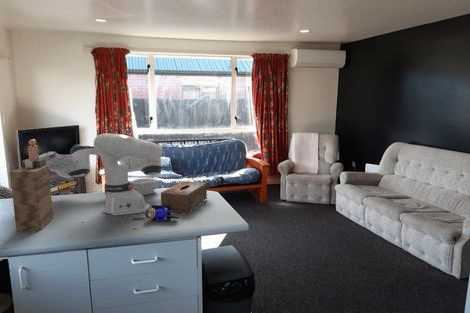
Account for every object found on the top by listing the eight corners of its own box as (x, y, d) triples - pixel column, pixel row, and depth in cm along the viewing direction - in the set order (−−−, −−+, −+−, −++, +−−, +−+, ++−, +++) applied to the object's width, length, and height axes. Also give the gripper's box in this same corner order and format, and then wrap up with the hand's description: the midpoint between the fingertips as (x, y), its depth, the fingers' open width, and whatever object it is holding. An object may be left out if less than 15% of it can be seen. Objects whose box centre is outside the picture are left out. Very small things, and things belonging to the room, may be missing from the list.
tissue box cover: (187, 214, 171) (187, 195, 169) (161, 211, 175) (160, 192, 173) (206, 200, 195) (206, 182, 193) (183, 197, 199) (183, 181, 197)
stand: (53, 218, 163) (47, 158, 158) (41, 230, 149) (35, 164, 145) (30, 220, 162) (24, 159, 157) (16, 231, 148) (9, 164, 143)
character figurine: (176, 224, 158) (144, 223, 158) (179, 217, 165) (148, 217, 166) (175, 208, 156) (142, 207, 157) (179, 202, 163) (147, 201, 164)
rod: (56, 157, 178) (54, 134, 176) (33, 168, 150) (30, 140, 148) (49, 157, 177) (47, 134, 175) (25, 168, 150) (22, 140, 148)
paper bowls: (135, 190, 215) (134, 177, 214) (159, 189, 215) (159, 177, 214) (128, 197, 200) (128, 183, 199) (155, 196, 200) (154, 183, 199)
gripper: (79, 168, 187) (71, 160, 174) (38, 169, 184) (27, 161, 171) (80, 157, 189) (72, 148, 177) (40, 158, 186) (29, 149, 174)
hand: (50, 154), depth 174 cm, fingers open, 4 cm apart
